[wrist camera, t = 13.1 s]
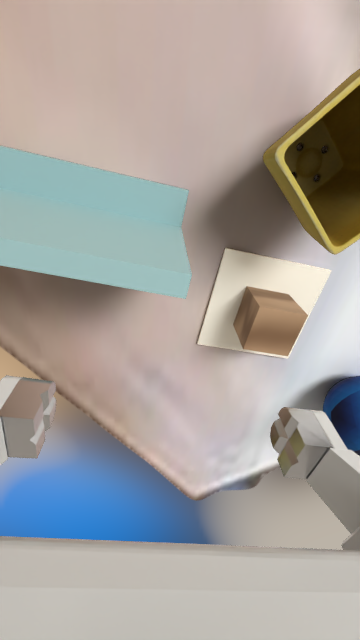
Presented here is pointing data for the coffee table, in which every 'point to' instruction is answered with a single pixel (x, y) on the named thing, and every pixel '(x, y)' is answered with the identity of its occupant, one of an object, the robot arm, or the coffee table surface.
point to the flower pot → (324, 168)
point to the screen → (91, 224)
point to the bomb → (345, 411)
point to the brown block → (268, 321)
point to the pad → (256, 273)
